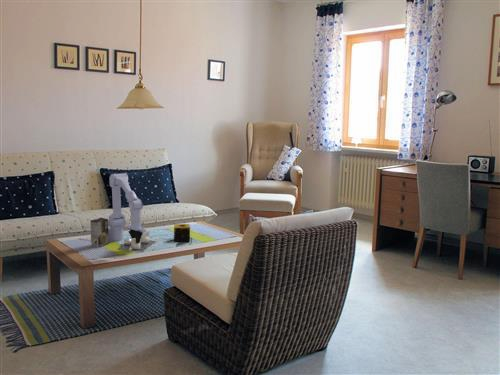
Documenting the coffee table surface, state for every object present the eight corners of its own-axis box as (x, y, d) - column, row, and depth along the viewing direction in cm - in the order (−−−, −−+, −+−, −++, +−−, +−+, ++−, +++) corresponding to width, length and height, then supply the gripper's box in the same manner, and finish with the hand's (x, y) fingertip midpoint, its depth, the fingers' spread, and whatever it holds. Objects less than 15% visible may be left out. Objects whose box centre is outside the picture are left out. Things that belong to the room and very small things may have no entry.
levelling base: (116, 251, 299) (116, 244, 298) (132, 241, 322) (132, 234, 321) (142, 254, 296) (142, 246, 295) (156, 243, 319) (156, 236, 319)
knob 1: (133, 249, 298) (133, 239, 297) (129, 247, 302) (129, 237, 301) (142, 248, 301) (142, 238, 300) (138, 246, 305) (138, 236, 304)
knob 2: (143, 243, 311) (143, 234, 310) (138, 242, 315) (138, 232, 314) (150, 242, 316) (150, 232, 315) (145, 240, 319) (145, 231, 318)
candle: (174, 242, 322) (174, 227, 320) (173, 238, 332) (173, 223, 330) (190, 242, 324) (190, 227, 322) (189, 238, 334) (189, 223, 332)
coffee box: (101, 242, 317) (100, 217, 315) (109, 244, 314) (108, 218, 312) (90, 245, 309) (90, 220, 307) (98, 247, 306) (98, 221, 304)
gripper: (149, 220, 298) (149, 243, 300) (132, 217, 306) (132, 238, 308) (140, 223, 292) (140, 245, 294) (123, 219, 300) (123, 241, 303)
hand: (136, 242), depth 301 cm, fingers closed on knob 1, 3 cm apart
